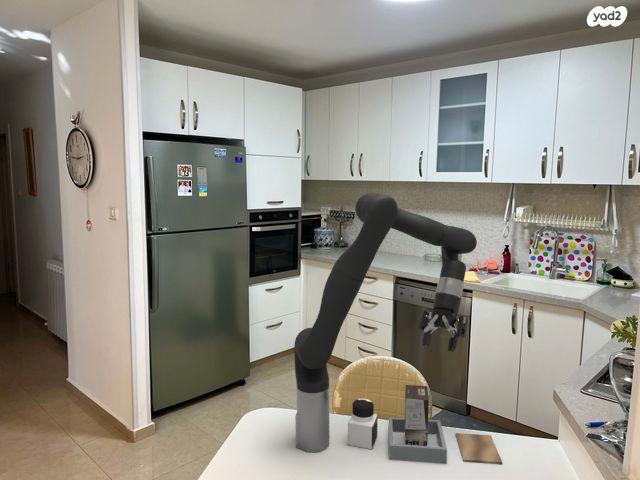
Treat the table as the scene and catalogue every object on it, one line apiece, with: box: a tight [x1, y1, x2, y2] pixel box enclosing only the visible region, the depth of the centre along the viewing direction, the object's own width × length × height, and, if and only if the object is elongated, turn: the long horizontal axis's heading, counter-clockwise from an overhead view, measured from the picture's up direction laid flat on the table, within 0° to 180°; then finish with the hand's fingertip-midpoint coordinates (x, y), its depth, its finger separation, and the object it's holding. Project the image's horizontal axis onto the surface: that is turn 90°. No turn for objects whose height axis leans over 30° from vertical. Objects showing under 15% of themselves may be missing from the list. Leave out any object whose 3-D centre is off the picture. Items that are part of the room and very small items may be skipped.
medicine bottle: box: [347, 398, 378, 450], centre depth 130 cm, size 7×7×12 cm
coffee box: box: [404, 384, 430, 446], centre depth 127 cm, size 9×6×16 cm
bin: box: [388, 416, 448, 465], centre depth 128 cm, size 15×15×4 cm
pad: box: [455, 432, 503, 465], centre depth 127 cm, size 10×13×1 cm
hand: (437, 348), depth 132 cm, fingers open, 8 cm apart
